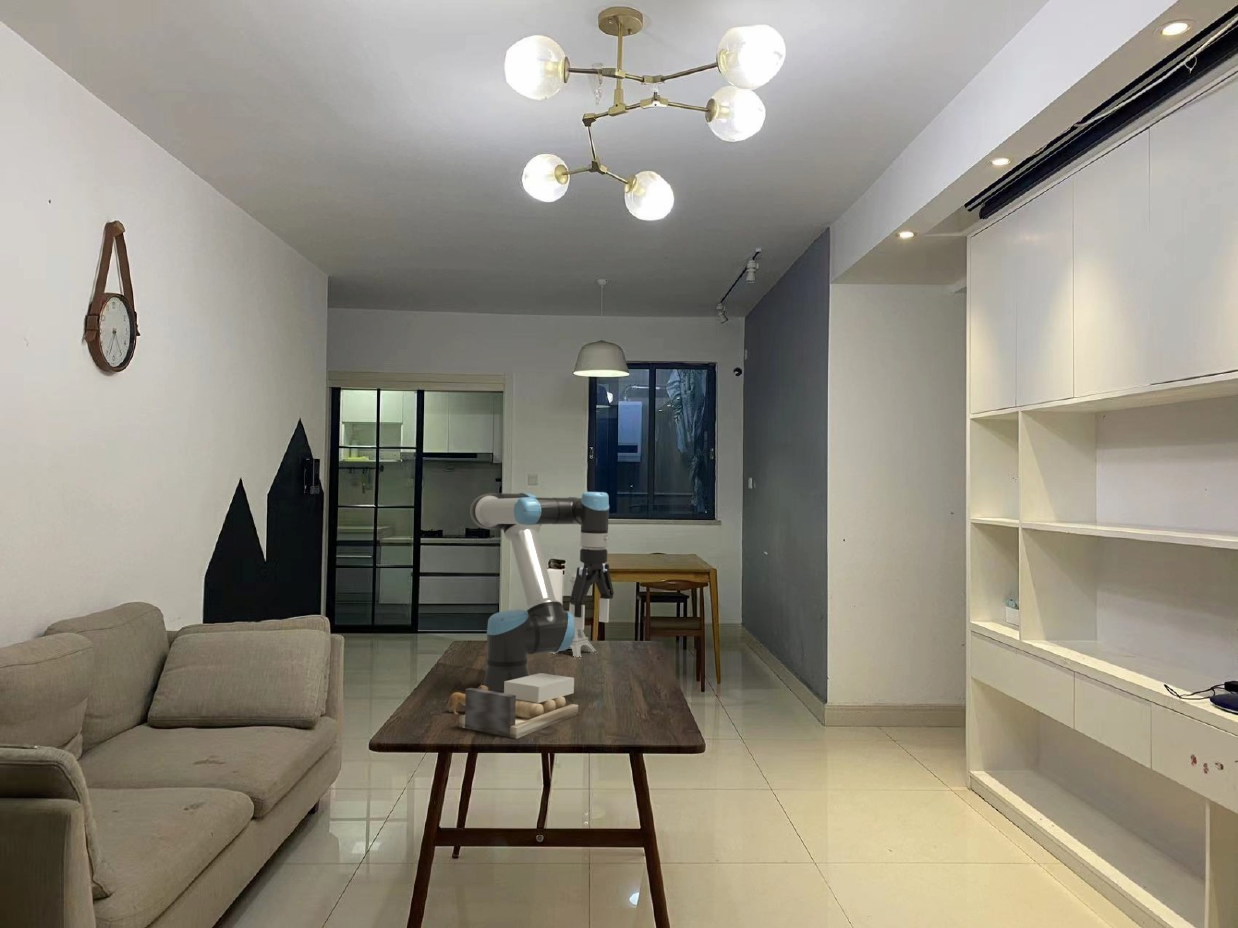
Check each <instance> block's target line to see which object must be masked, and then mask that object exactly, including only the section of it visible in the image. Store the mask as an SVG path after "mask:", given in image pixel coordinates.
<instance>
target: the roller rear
mask: <svg viewBox="0 0 1238 928" xmlns="http://www.w3.org/2000/svg"><path fill="white" fill-rule="evenodd" d="M551 700H554V701H555V705H556V708H555V710H557V709H560V708H562V707H565V706H567V705H566V703H567V701H566V698H565V697H564V696H562V697H561V696H560V697H558V698H554V699H551Z"/></svg>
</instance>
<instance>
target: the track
mask: <svg viewBox="0 0 1238 928" xmlns="http://www.w3.org/2000/svg"><path fill="white" fill-rule="evenodd" d="M464 694H465V705H464V710H465V711H464V715H460V716H458V728H461V727H462V729H466V730H471V729H472V731H475V732H481V733H487V734H491V735H496V736H501V737H507V738H511V739H519V738H522V737H524V736H527V735H529V734H532V733H534V732H537V731H540V730H543V729H545V728H548V727H550V726H552V725H556V724H558V723H560V722H563V721H565V720H568V719H570V718H573V717H576V716H578V715H579V705H578V704H574V703H571V704H568V705H565V707H562V708H560V709H557V710H554V711H552V712H549V713H546V714H543V715H541V716H538V717H535V718H532V719H526V718H521V717H515V711H516V695H511V694H505V693H499V692H493V691H487V690H481V689H477V688H474V687H468V688H465V693H464Z"/></svg>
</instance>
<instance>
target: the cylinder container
mask: <svg viewBox="0 0 1238 928" xmlns="http://www.w3.org/2000/svg"><path fill="white" fill-rule="evenodd" d="M547 571H548V575H549V578H550V582H551V585H552V589H553V593H554V596H555V600H557V601H559V602H561V603H562V604H563V595H564V594H563V591H564V590H563V589H564V587H563V585H564V584H563V583H564V582H563V581H564V580H563V579H564V576H563V575H564V574H563V573H564V570H563V569H560V568H559V569H557V568H547Z"/></svg>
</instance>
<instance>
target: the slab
mask: <svg viewBox="0 0 1238 928" xmlns="http://www.w3.org/2000/svg"><path fill="white" fill-rule="evenodd" d="M574 690H575V677H570V676H564V675H556V674H550V673H549V674H548V673H542V672H540V673H534V674H530V676H526V677H522V678H518V679H513V680H509V681H504V693H505V694H511V695H516V699H517V700H523V701H529V702H535V703H540V702H544V701H547V700H551V699H554V698H558V697H560V696H561V697H564V696H568V695H572V694H575V693H574V692H575V691H574Z"/></svg>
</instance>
